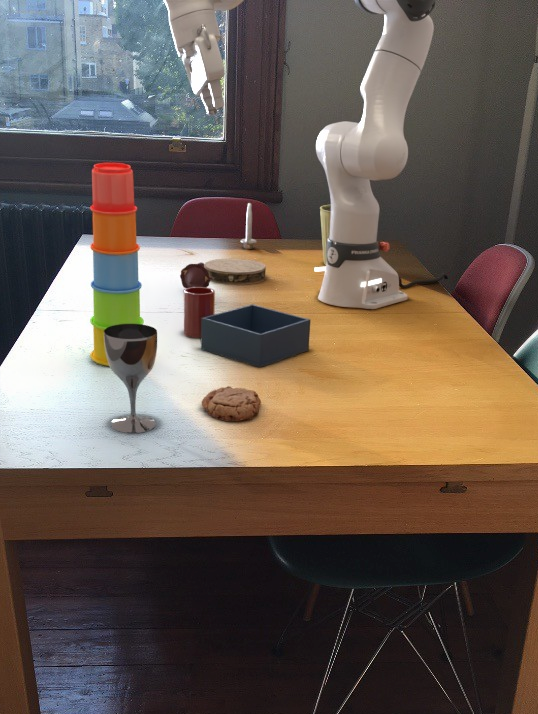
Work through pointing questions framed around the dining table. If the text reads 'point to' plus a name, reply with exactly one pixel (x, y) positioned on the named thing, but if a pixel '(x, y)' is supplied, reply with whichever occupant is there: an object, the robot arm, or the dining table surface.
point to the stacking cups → (113, 253)
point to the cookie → (231, 403)
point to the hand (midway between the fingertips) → (216, 111)
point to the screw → (248, 229)
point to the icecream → (195, 276)
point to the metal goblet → (131, 367)
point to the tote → (255, 335)
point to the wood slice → (235, 271)
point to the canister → (197, 309)
